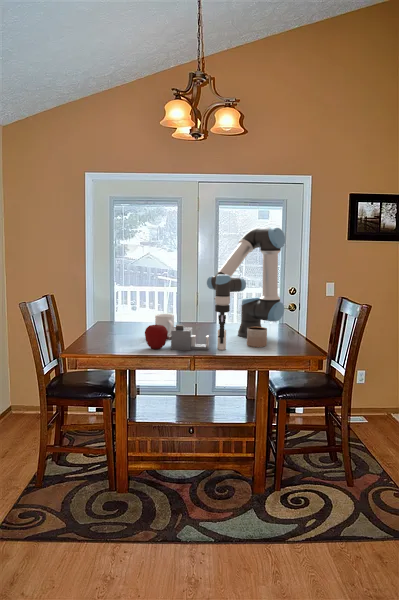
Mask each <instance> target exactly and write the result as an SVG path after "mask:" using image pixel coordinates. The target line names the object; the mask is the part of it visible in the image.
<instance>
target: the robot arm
mask: <svg viewBox="0 0 399 600" xmlns="http://www.w3.org/2000/svg"><path fill="white" fill-rule="evenodd" d="M285 243H286V236H285V232H284V231H283V230H282V229H281V228H280V227H277V226H274V227H273V226H269V227H268V226H266V227H265V226H264V227H262V226H261V227H259V226H258V227H254V228H252V229H250V230H249V231H248V232H246V233H245V234H244V235H243V236H242V237H241V238H240V239H239V241H238V245H237V246H236V248H235V249H234V250H233V251H232V253H231V254H230V255H229V256H228V258H227V259H226V261H225V262H224V263H223V264H222V266H221V267H220V269H218V271H217V272H216V274H215V275H210V276H209V277H208V278H207V279H206V286H207V288H208V289H210V290H213V291H215V297H214V300H215V307H214V311H215V312H216V313H219V314H218V317H217V318H218V324H219V329H220V332H219V336H218V335H217V338H218V337H219V349H218V350H221V351H225V350H224V330H225V325H226V319H227V315H226V314H225V313H230V309H231V308H230V304H231V293H237V292H238V293H240V292H243V291H245V290H246V288H247V282H246V280H245V278H243V277H232V276H233V275H234V273H235V272H236V271H237V269H238V268H239V267H240V266H241V264H242V263H243V262H244V260H245V258H246V257H247V256H248V255H249V253H252V252H253V251H254V250H255V249H257V248H260V249H259V250H260V252H261V254H262V295H261V296H260V297H256V296H255V297H246V298H242V300H241V307H240V308H241V310H240V311H241V315H240V316H241V318H240V319H241V321H240V325H239V328H238V330H237V336H238V337H242V338H247V328H248V327H262V324H261V321H266V322H274V323H275V322H278V321H280V320H281V319H282V317H283V316H284V312H285V305H284V303H283V302H281V298H280V296H278V291H279V290H278V285H279V282H278V281H279V280H278V279H279V276H278V275H279V266H278V265H279V253H280V252H281V250H282V248H283V247H284V245H285Z"/></svg>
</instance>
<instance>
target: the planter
mask: <svg viewBox="0 0 399 600" xmlns="http://www.w3.org/2000/svg"><path fill="white" fill-rule="evenodd" d="M246 345H247V346H248V347H251V348H265V347H266V346H267V345H268V328H266V327H263V326H261V327H248V328H247V337H246Z"/></svg>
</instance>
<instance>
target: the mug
mask: <svg viewBox="0 0 399 600" xmlns="http://www.w3.org/2000/svg"><path fill="white" fill-rule="evenodd" d="M154 318H155V320H154V322H155V324H154V325H163V326H164V327H165V328H166V329H167V331H168V335H167V336H171V330H172V329H173V327H175V315H174V314H171V313H160V314H159V313H158V314H157V313H156V314H155V317H154Z"/></svg>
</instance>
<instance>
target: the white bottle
mask: <svg viewBox="0 0 399 600" xmlns="http://www.w3.org/2000/svg"><path fill="white" fill-rule="evenodd" d="M219 332H220V328H219V329H217V350H219V337H218V336H219ZM226 349H227V329H224V350H223V351H225V350H226Z"/></svg>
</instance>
